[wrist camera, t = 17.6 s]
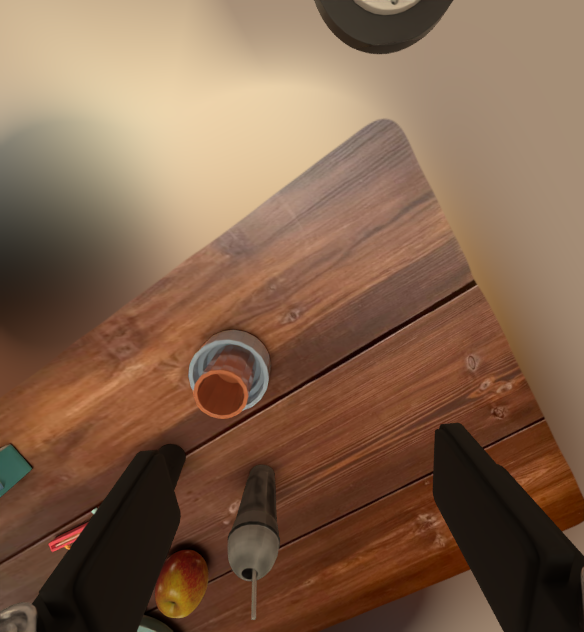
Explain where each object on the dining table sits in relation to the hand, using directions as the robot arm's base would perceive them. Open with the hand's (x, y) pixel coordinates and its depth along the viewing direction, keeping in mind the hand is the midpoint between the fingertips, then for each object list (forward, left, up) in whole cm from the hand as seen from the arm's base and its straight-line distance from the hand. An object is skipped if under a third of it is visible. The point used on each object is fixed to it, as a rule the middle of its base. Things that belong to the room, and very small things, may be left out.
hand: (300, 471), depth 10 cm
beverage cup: (+32, -9, -33) cm, 47 cm away
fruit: (+50, -26, -33) cm, 66 cm away
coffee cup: (+10, -11, -33) cm, 36 cm away
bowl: (+10, -10, -33) cm, 36 cm away
